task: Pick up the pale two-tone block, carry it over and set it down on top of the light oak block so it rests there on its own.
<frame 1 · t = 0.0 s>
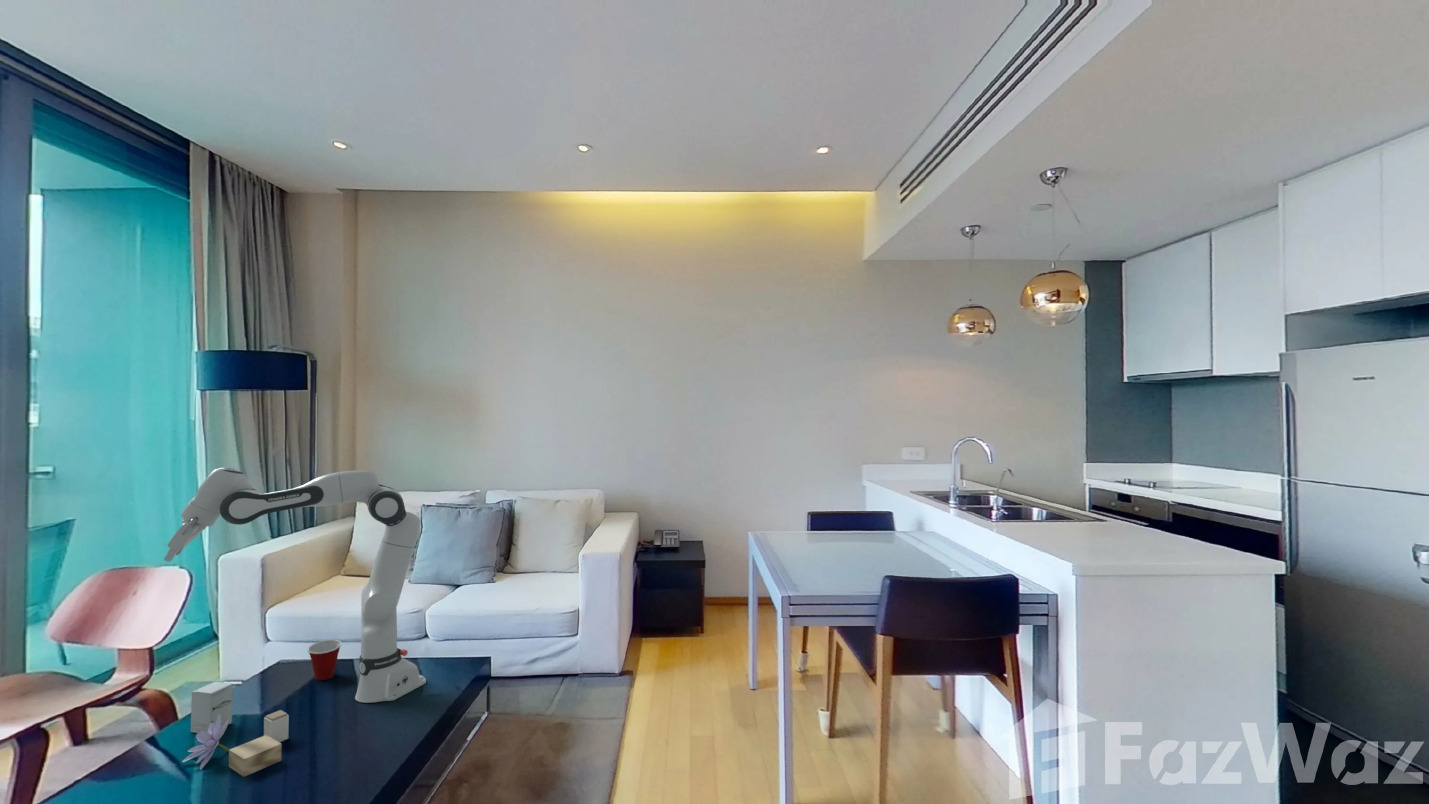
hand: (171, 557, 185), 54 cm above the table, tool tilted 30°, fingers open, 8 cm apart
supplement box: (211, 728, 190), on the table
water lily: (206, 759, 173), on the table
plastic cup: (324, 678, 226), on the table
oak block: (255, 764, 170), on the table
pale two-tone block: (276, 739, 183), on the table
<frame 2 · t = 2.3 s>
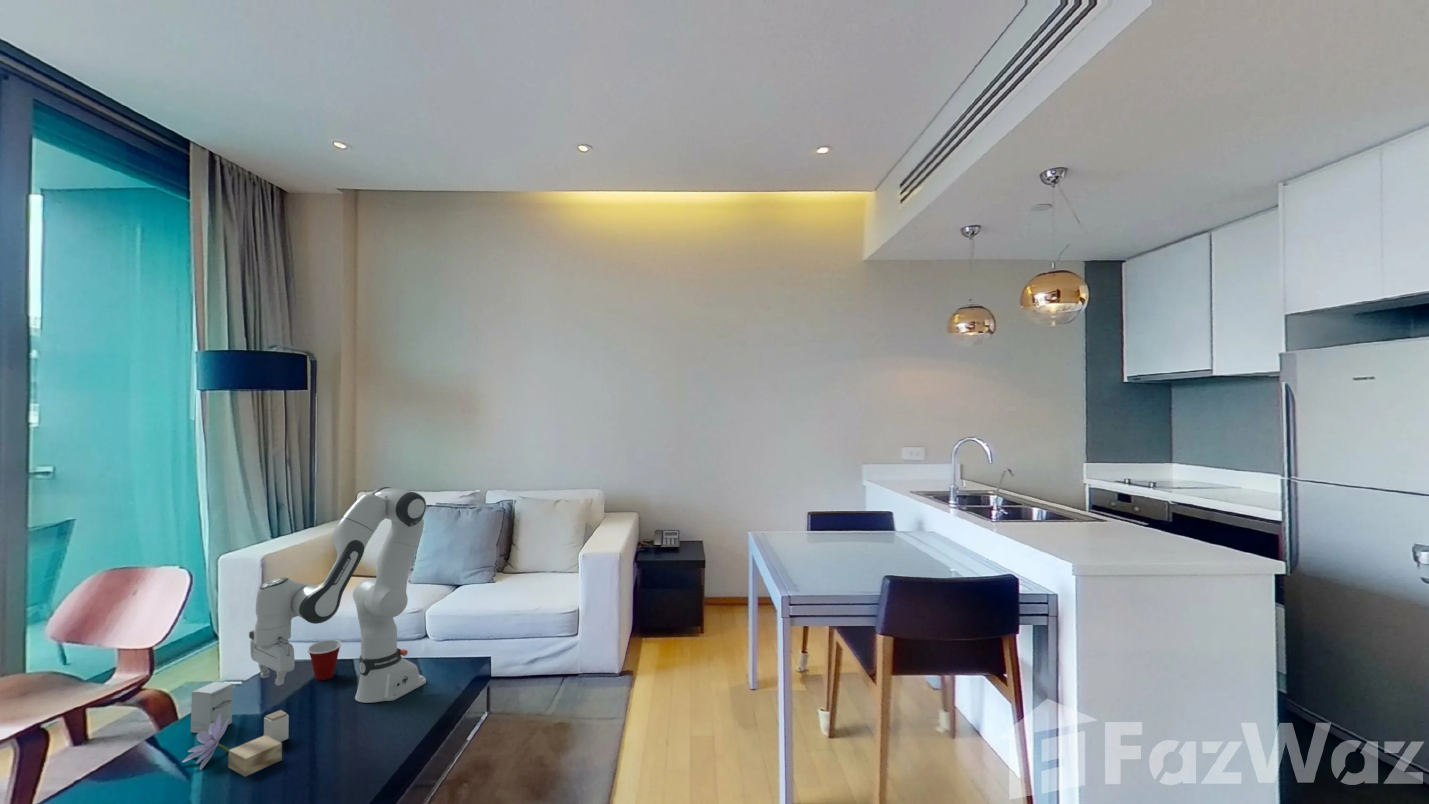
hand: (272, 680, 182), 18 cm above the table, tool pointing down, fingers open, 8 cm apart
nothing on the table moved.
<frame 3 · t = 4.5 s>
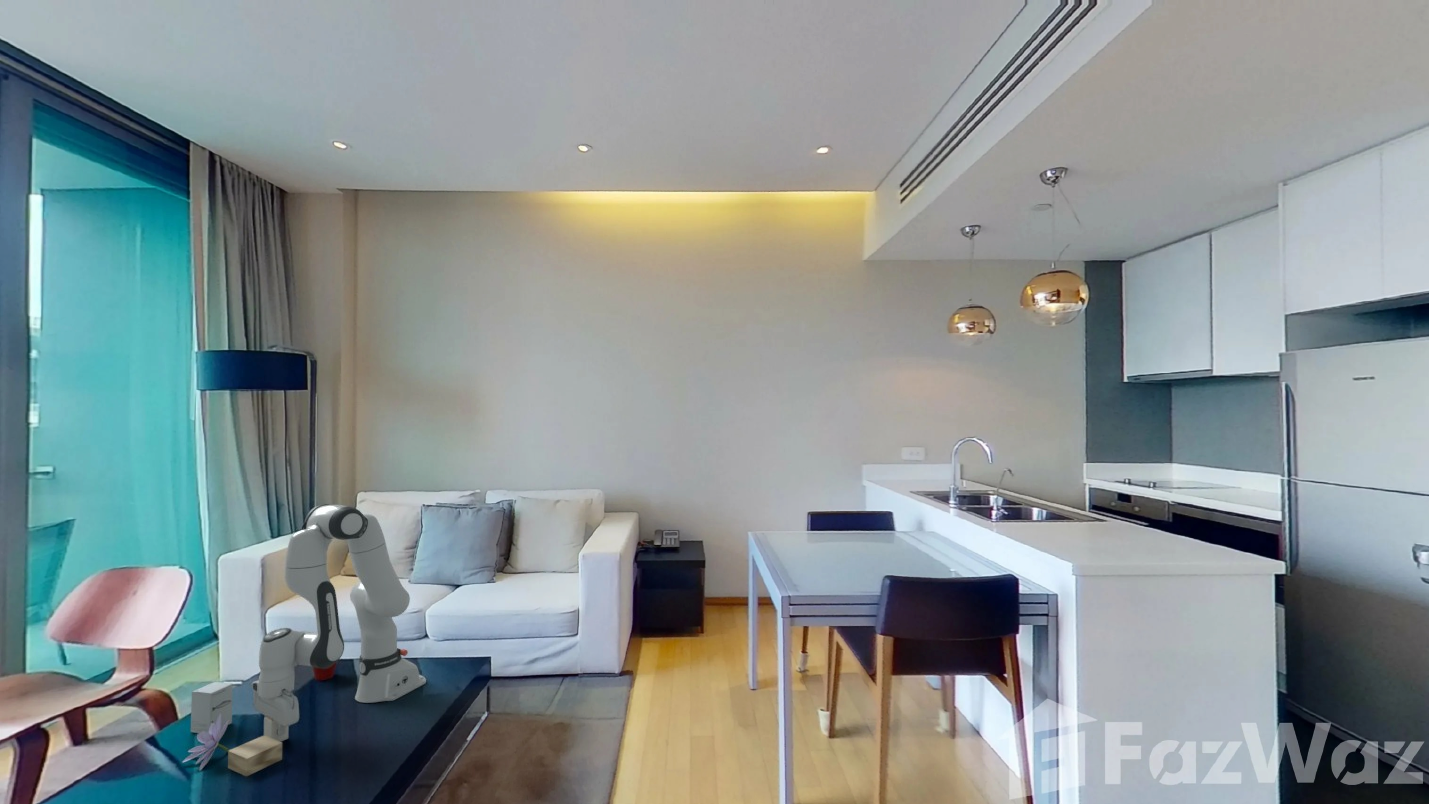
hand: (276, 731, 183), 2 cm above the table, tool pointing down, fingers closed on pale two-tone block, 5 cm apart
pale two-tone block: (276, 739, 183), on the table, touching gripper
everything else where it was.
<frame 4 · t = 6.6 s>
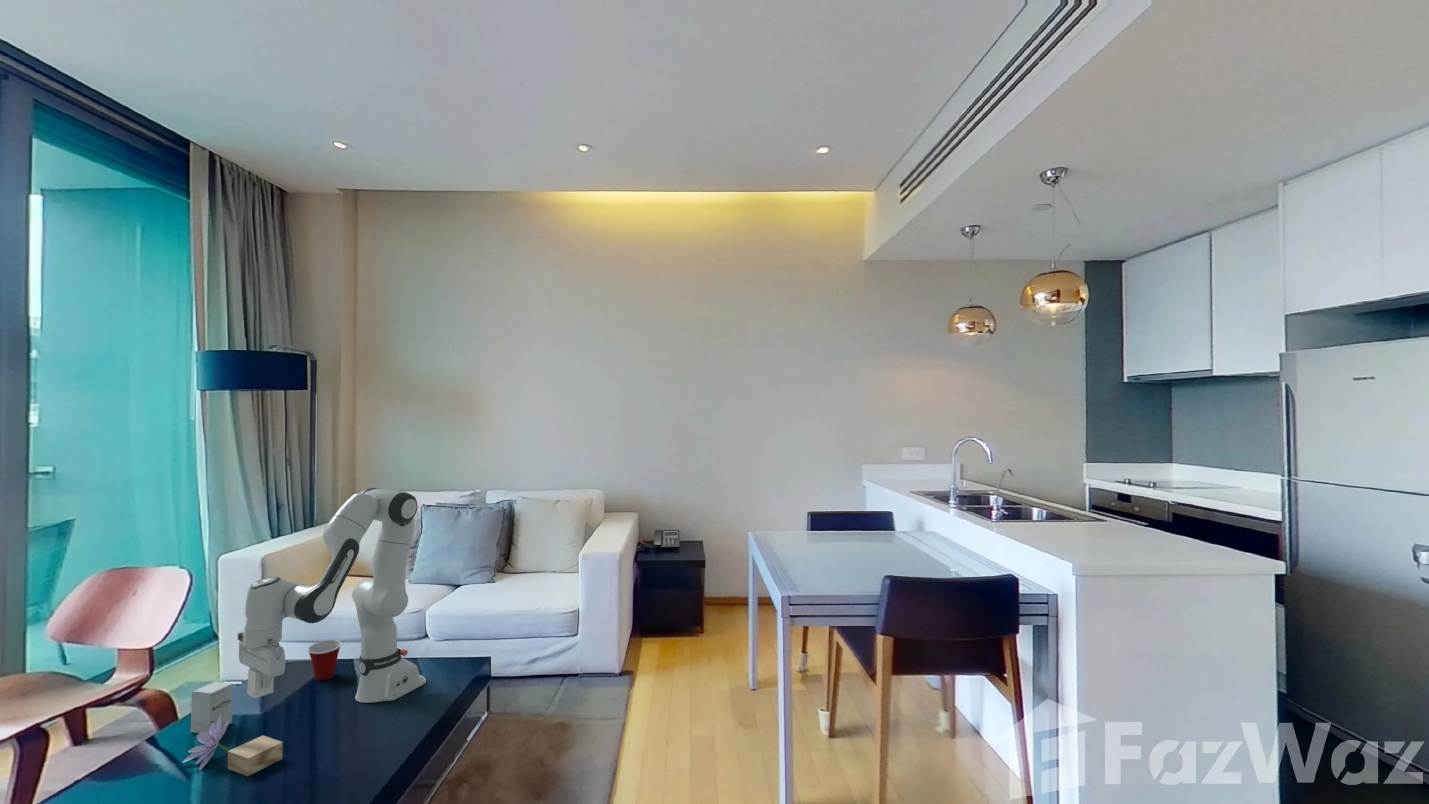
hand: (260, 685, 174), 20 cm above the table, tool pointing down, fingers closed on pale two-tone block, 5 cm apart
pale two-tone block: (260, 693, 174), point 18 cm above the table, touching gripper
everything else where it was.
when the fingers open (8 cm above the table, at t = 8.7 s): pale two-tone block drops 1 cm, point 5 cm above the table.
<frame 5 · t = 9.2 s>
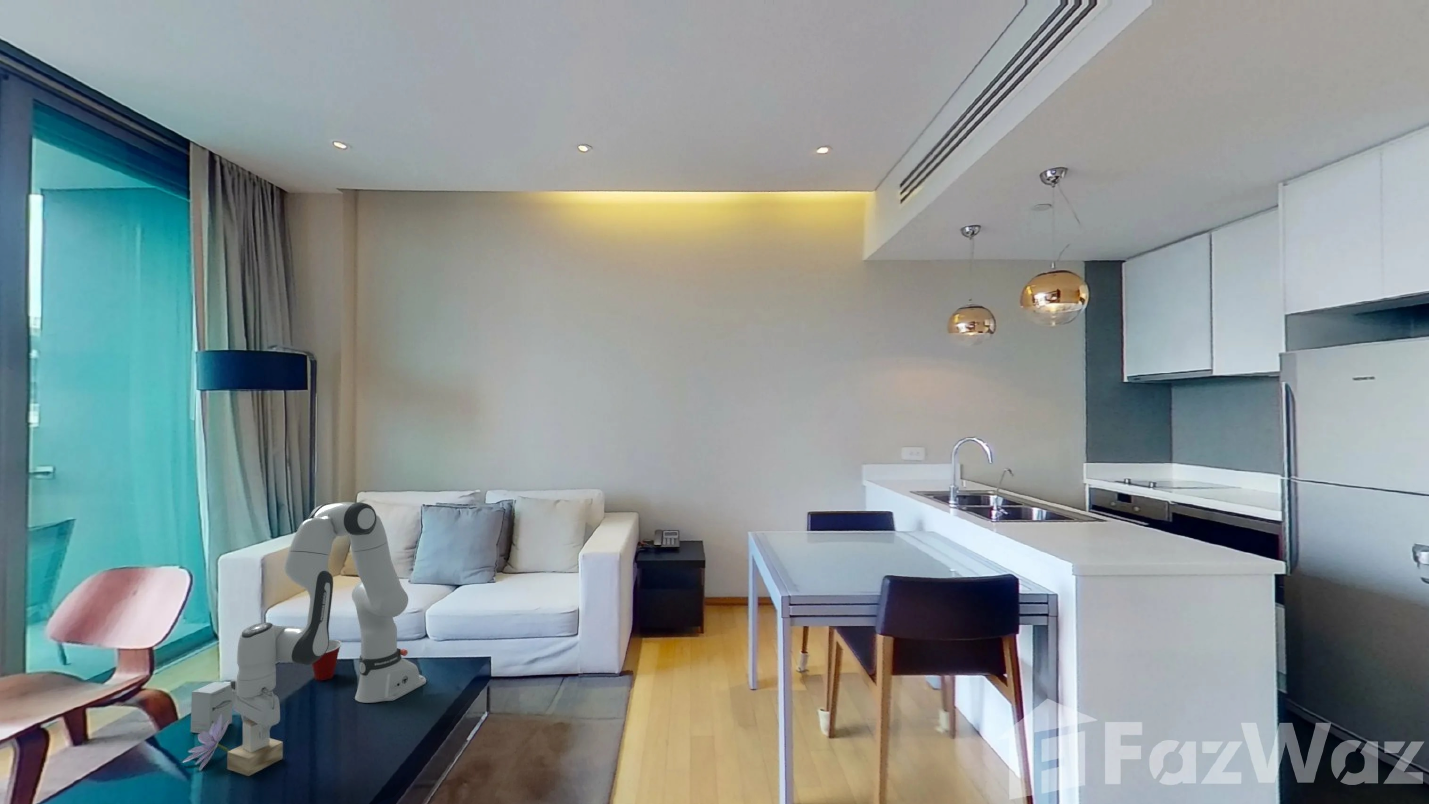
hand: (255, 733, 171), 8 cm above the table, tool pointing down, fingers open, 8 cm apart
pale two-tone block: (256, 746, 171), point 5 cm above the table
everything else where it was.
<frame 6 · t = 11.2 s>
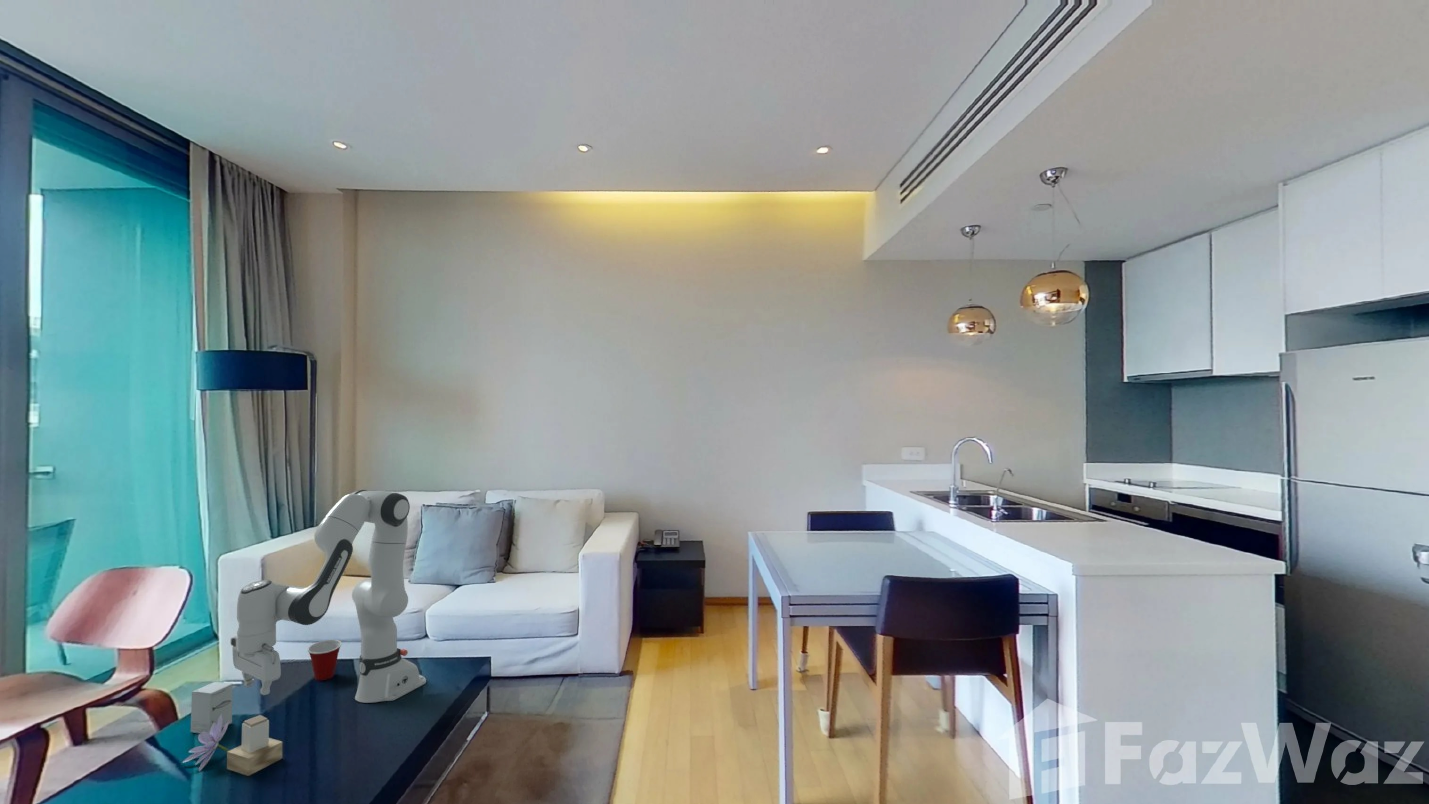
hand: (257, 689, 171), 20 cm above the table, tool pointing down, fingers open, 8 cm apart
oak block: (254, 764, 171), on the table, touching pale two-tone block
pale two-tone block: (255, 746, 170), point 5 cm above the table, touching oak block
everything else where it was.
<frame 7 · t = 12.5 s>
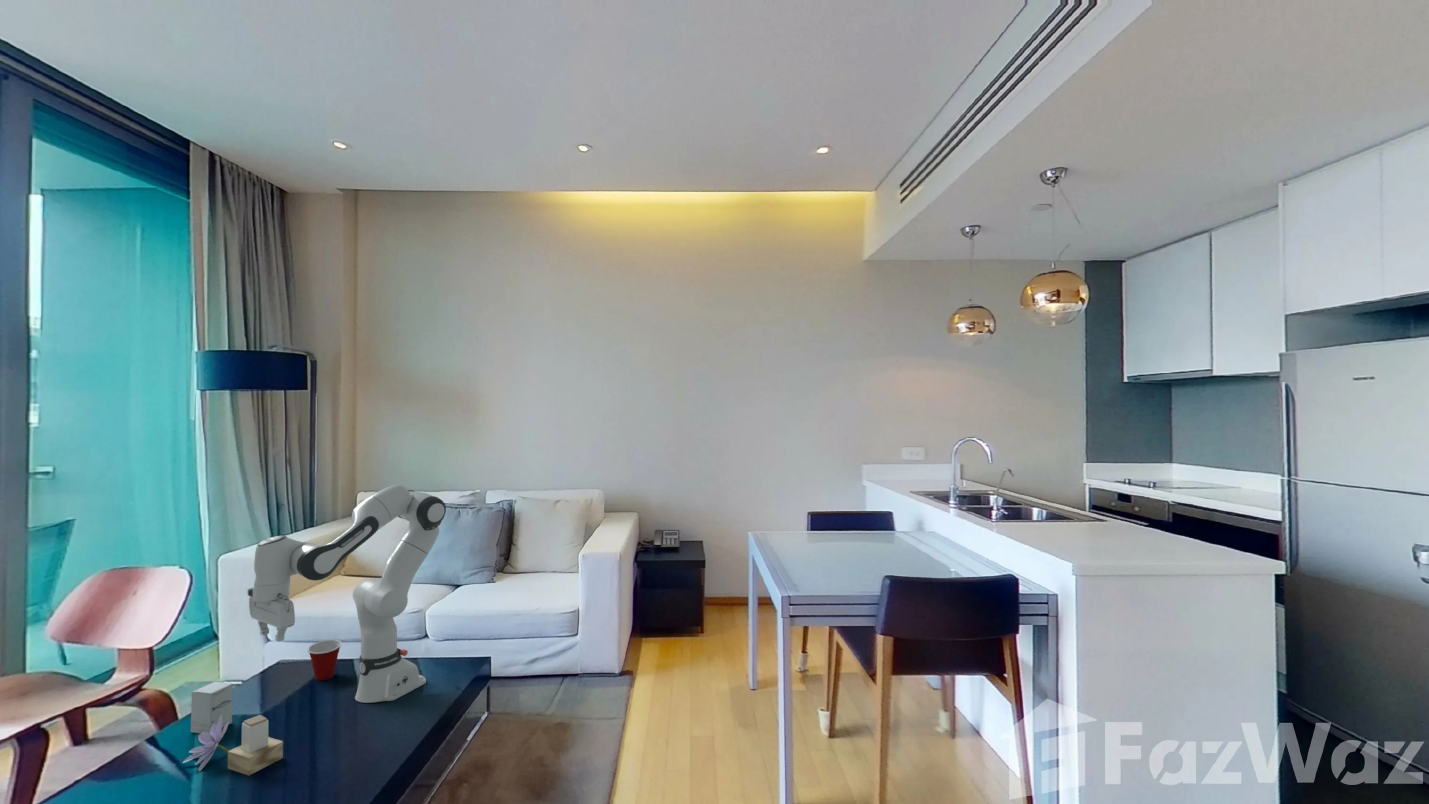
hand: (272, 637, 183), 31 cm above the table, tool pointing down, fingers open, 8 cm apart
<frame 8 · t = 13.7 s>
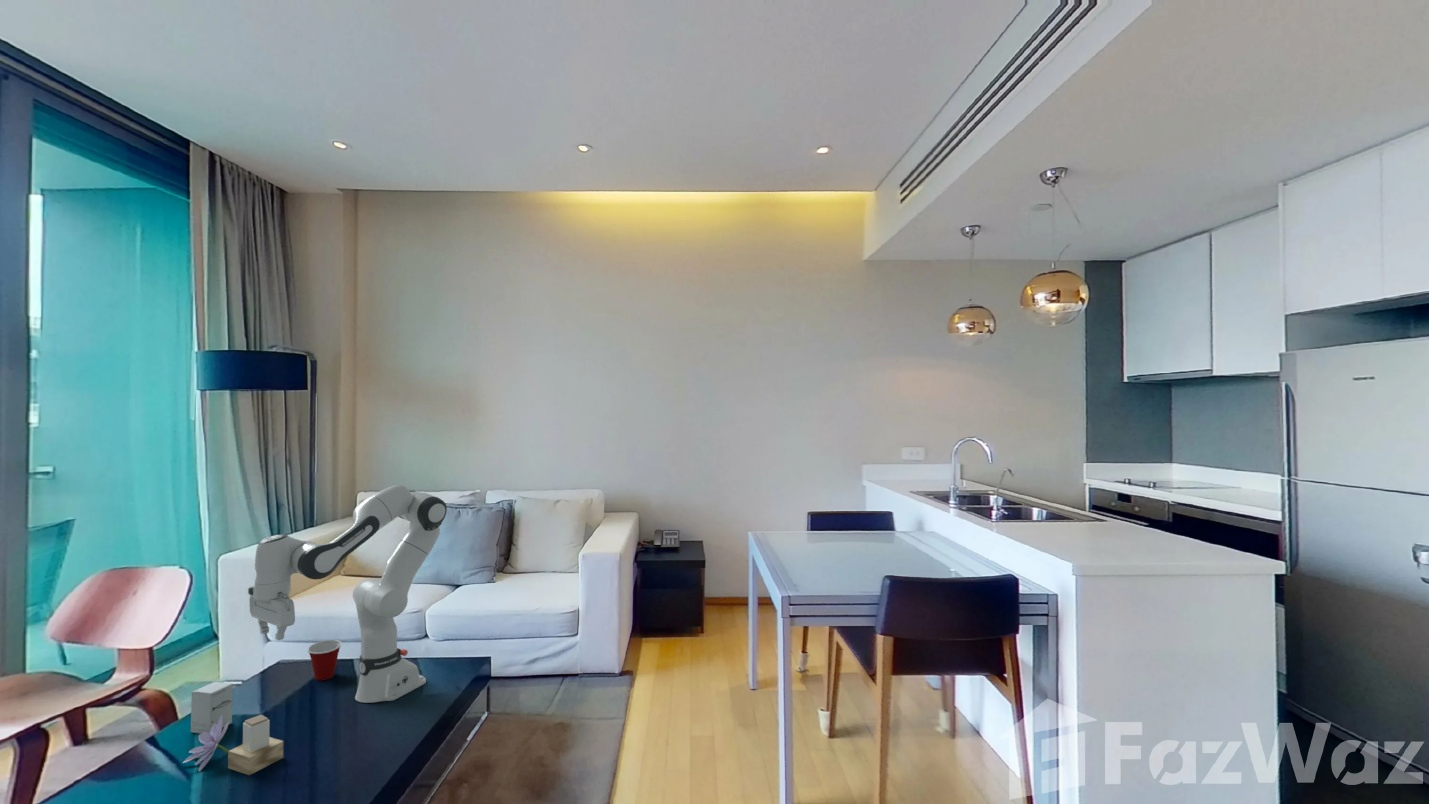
hand: (272, 636, 183), 31 cm above the table, tool pointing down, fingers open, 8 cm apart
oak block: (256, 763, 171), on the table
pale two-tone block: (256, 746, 171), point 5 cm above the table
at the end: pale two-tone block inside the target area on the oak block (0.4 cm from its centre), point 5.0 cm above the oak block's base; pale two-tone block tilted 0°; the gripper is holding nothing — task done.
